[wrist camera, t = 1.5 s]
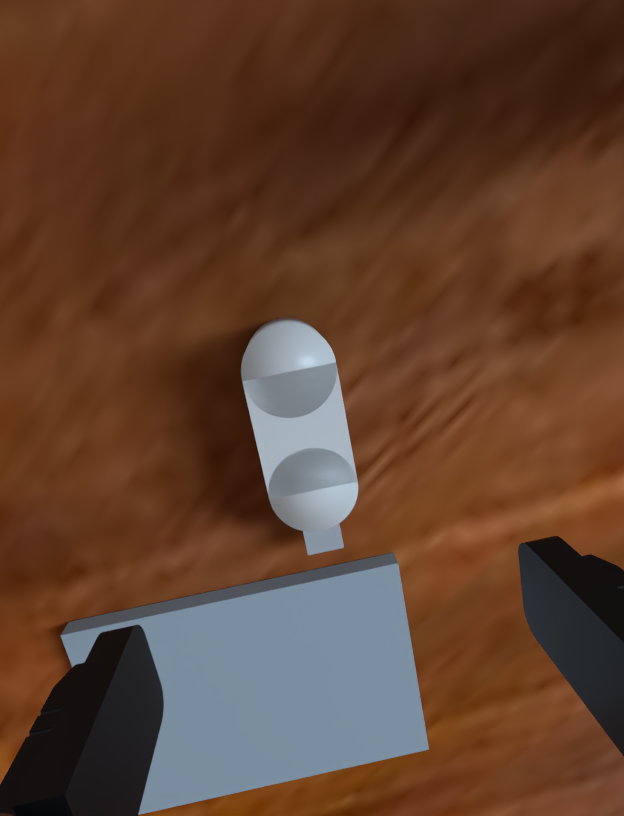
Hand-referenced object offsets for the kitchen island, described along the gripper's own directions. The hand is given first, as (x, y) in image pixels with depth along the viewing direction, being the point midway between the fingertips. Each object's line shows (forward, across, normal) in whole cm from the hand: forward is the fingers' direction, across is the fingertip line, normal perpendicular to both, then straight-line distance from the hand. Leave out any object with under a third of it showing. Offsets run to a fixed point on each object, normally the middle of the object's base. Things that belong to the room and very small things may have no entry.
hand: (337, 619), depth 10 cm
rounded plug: (+18, 0, +1) cm, 18 cm away
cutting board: (+18, +6, +17) cm, 26 cm away
